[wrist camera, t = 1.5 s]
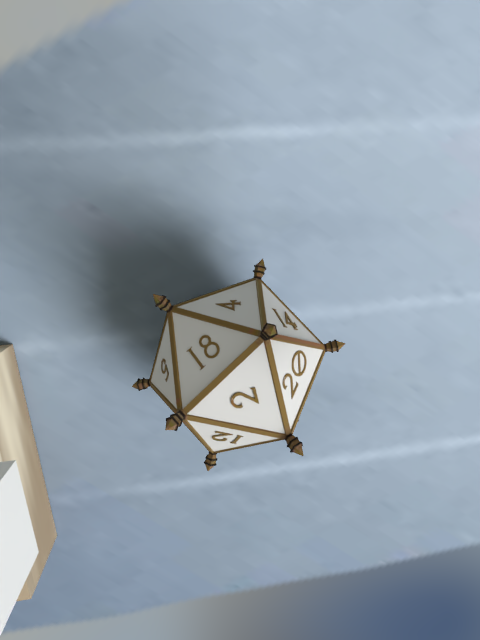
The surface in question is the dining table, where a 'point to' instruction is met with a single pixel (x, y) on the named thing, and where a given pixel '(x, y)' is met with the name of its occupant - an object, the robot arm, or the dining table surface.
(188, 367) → the game die
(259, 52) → the dining table surface
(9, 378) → the birch base
